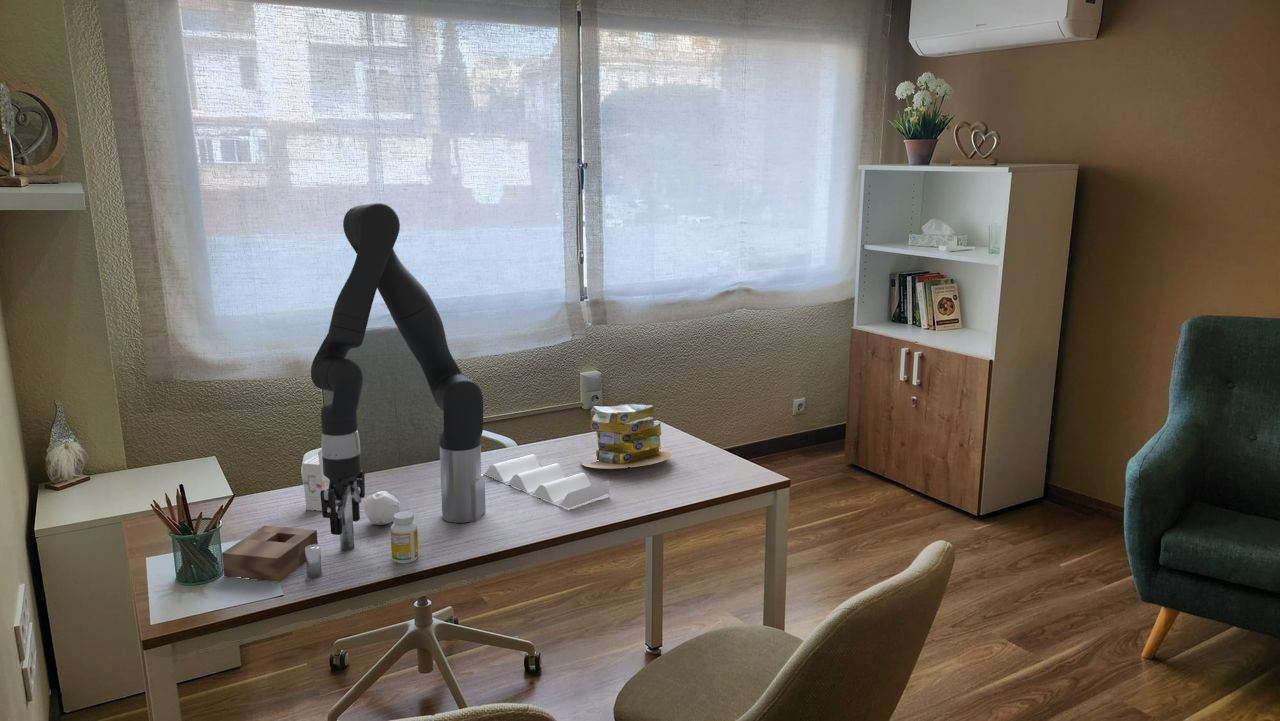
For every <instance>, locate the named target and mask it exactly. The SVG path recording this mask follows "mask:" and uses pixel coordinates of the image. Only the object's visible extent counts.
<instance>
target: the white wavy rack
mask: <svg viewBox="0 0 1280 721" xmlns="http://www.w3.org/2000/svg"><path fill="white" fill-rule="evenodd" d="M485 474H486V475H488V476H491V477H493V478H495V479H497V480H499V481H498V482H500V481H503V482H505V481H509V480H510V481H509V482H508V483H507V484H510V485H512V486H514V487H516V488H519V489H521V490H524V491H526V492H531V491H534V490H535V491H534V493H533V495H536V496H538V497H540V498H542V499H545V500H548V501H550V502H553V503H554V502H556V501H559V500H561V499H564V500H563V501H562V502H561V503H560V504H558V505H561V506H564V507H567V508H571V507H573V506H576V505H579V504H582V503H585V502H587V501H590V500H592V499H595V498H598V497H600V496H603V495H605V494H609V495H610V479H609V480H606V481H603V482H600V483H596V484H593V485H592V483H591V482H590V480H589V478H588V476H587V475H586V473H584V472H579V473H577V474H573V475H570V476H566V474H565V472H564V470H563V469H562V466H561V465H560V464H559V463H558V462H557V463H553V464H549V465H545V466H542V465H541V463H540V461H539V460H538V457H537V456H536V455H535V454H534V453H533V454H527V455H524V456H521V457H516V458H511V459H509V460H505V461H501V462H497V463H494V464H491V465H489V467H488V468H487V470H486V471H485V473H484V475H485ZM486 475H485V476H486ZM488 476H487V477H488ZM493 478H492V479H493ZM495 479H494V480H495ZM497 480H496V481H497ZM507 484H506V485H507ZM514 487H513V488H514ZM516 488H515V489H516ZM521 490H520V491H521ZM542 499H541V500H542Z"/></svg>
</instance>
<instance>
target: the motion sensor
mask: <svg viewBox="0 0 1280 721" xmlns="http://www.w3.org/2000/svg"><path fill="white" fill-rule="evenodd" d="M363 507H364V508H363V510H364V514H365V517H367V519H368V520H369V522H370V523H372V524H374V525H378V526H385V525H388V524H390V523H392V522H394V521H393V520H394V519H393V516H394V514H395V513H397V512H401V502H400V501H399V500H398V498H396V496H395V495H392V494H390V493H389V492H388V491H387V490H386V491H385V490H381V491H378V492H375V493H374V494H370V495H368V496H367V497H366V498H365V500H364V506H363Z"/></svg>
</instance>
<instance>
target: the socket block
mask: <svg viewBox="0 0 1280 721" xmlns="http://www.w3.org/2000/svg"><path fill="white" fill-rule="evenodd" d="M313 544H316V545H319V542H318V530H317V529H309V528H308V529H307V528H297V527H287V526H277V525H276V526H275V525H274V526H273V525H262V526H261V527H260V528H258V529H257V530H255V531H254V532H252V533H250V534H249V535H247V536H246V537H245V538H243V539H241V540H239V541H238V542H237V543H235V544H234V545H232V546H231V547H229V548H227V549H226V550H224V551H223V552H222V553H221V556H222V557H221V558H222V559H221V560H222V568H223V569H222V570H223V577H224V576H227V577H226V578H231V577H241V578H249V579H248V580H251V579H257V580H256V581H261V580H267V581H266V582H271V581H277V582H276V583H281V582H282V581H283V580H285V579H286V578H287V577H289V576H290V575H292V573H294V572H295V571H297V569H299V568H301V566H303V565H304V564H306V556H305V547H306V546H309V545H313ZM241 578H240V579H241Z"/></svg>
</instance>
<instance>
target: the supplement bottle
mask: <svg viewBox="0 0 1280 721" xmlns="http://www.w3.org/2000/svg"><path fill="white" fill-rule="evenodd" d="M393 519H394V520H393V521H392V522H393V524H392V525H391V526H390V545H391V546H390V547H391V548H390V549H391V560H392V561H393V562H394V563H396V562H397V563H396V564H409V562H410V563H412V561H413V562H414V561H416V560H417V559H418V557H419V537H418V532H419V531H418V524H417V523H416V522H414V520H415V517H414V513H413V512H411V511H409V510H408V511H407V510H405V511H402V510H401V511H399V512H397V513H395V514H394V516H393Z"/></svg>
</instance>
